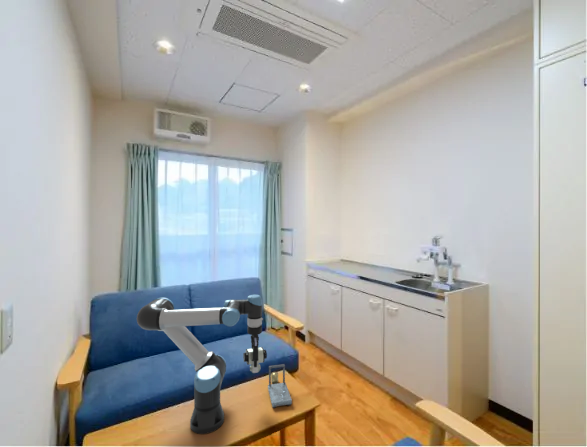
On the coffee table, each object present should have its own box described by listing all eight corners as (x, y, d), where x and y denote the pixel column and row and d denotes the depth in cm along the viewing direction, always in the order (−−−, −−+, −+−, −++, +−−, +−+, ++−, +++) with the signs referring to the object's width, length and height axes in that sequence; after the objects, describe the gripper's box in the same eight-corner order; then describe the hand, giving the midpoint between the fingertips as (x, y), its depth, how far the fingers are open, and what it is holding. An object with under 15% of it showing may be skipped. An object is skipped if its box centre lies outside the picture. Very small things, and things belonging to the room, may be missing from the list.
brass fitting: (271, 384, 159) (271, 375, 159) (270, 380, 163) (270, 372, 163) (278, 383, 160) (278, 374, 160) (277, 379, 164) (277, 371, 164)
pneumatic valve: (243, 371, 144) (243, 347, 145) (265, 367, 148) (264, 344, 149) (245, 375, 139) (244, 351, 140) (267, 371, 143) (267, 347, 144)
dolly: (272, 408, 138) (272, 382, 138) (267, 390, 153) (267, 366, 153) (291, 405, 140) (291, 379, 140) (285, 387, 155) (285, 363, 156)
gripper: (263, 331, 136) (263, 378, 136) (260, 318, 153) (260, 360, 153) (248, 332, 134) (248, 380, 134) (246, 319, 152) (246, 362, 152)
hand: (254, 369), depth 144 cm, fingers closed on pneumatic valve, 5 cm apart
